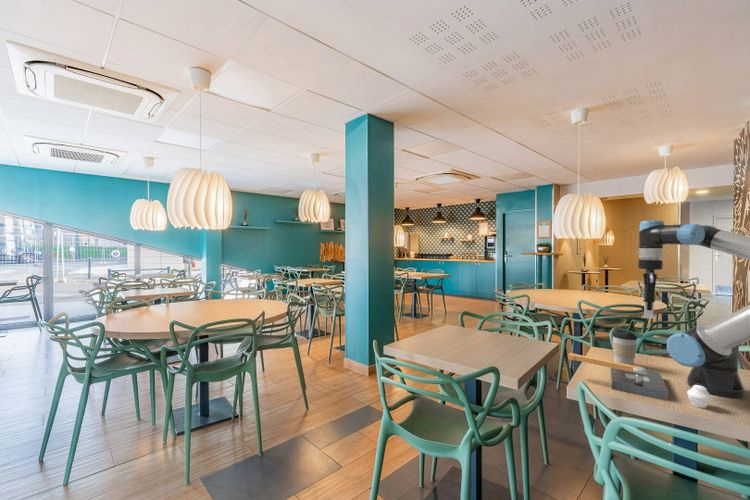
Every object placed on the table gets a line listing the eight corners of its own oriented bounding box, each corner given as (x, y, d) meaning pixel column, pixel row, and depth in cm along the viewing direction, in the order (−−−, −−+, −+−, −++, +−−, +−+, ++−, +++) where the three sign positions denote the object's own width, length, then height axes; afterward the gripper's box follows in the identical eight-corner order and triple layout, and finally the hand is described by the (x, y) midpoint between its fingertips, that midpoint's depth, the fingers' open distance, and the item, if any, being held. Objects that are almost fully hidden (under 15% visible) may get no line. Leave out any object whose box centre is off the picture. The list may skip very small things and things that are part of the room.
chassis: (658, 378, 137) (659, 361, 137) (668, 400, 117) (668, 380, 117) (610, 369, 146) (610, 353, 146) (611, 388, 126) (612, 370, 126)
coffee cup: (606, 361, 156) (607, 329, 156) (624, 361, 157) (625, 328, 157) (622, 368, 147) (623, 334, 147) (641, 368, 148) (642, 334, 148)
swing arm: (570, 356, 139) (570, 352, 139) (646, 372, 123) (646, 367, 123) (567, 359, 136) (567, 354, 136) (645, 375, 120) (645, 370, 120)
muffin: (692, 408, 112) (693, 387, 112) (682, 400, 117) (683, 380, 117) (716, 411, 110) (717, 390, 110) (705, 403, 115) (706, 382, 115)
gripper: (637, 258, 144) (635, 314, 144) (639, 259, 133) (638, 319, 133) (660, 259, 139) (658, 316, 140) (665, 260, 129) (663, 322, 129)
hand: (648, 317), depth 136 cm, fingers closed
